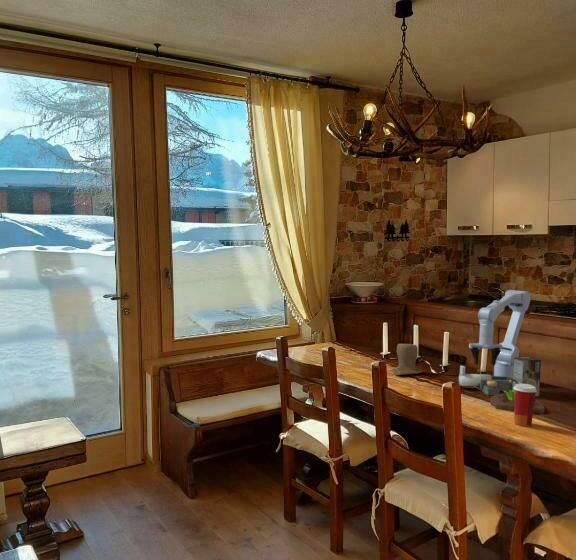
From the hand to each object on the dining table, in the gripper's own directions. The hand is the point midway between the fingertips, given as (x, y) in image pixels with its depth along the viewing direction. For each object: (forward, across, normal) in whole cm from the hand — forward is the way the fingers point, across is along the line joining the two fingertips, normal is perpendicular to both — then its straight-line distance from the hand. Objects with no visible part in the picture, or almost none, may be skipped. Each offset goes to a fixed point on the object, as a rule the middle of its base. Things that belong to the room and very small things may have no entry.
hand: (484, 364), depth 253 cm
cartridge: (+9, -5, -3) cm, 11 cm away
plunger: (+10, -1, -11) cm, 15 cm away
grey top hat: (+11, -30, +23) cm, 39 cm away
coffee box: (+11, +14, -12) cm, 21 cm away
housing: (+10, +4, -6) cm, 13 cm away
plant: (+11, +2, -29) cm, 31 cm away
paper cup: (+11, -6, -52) cm, 53 cm away
